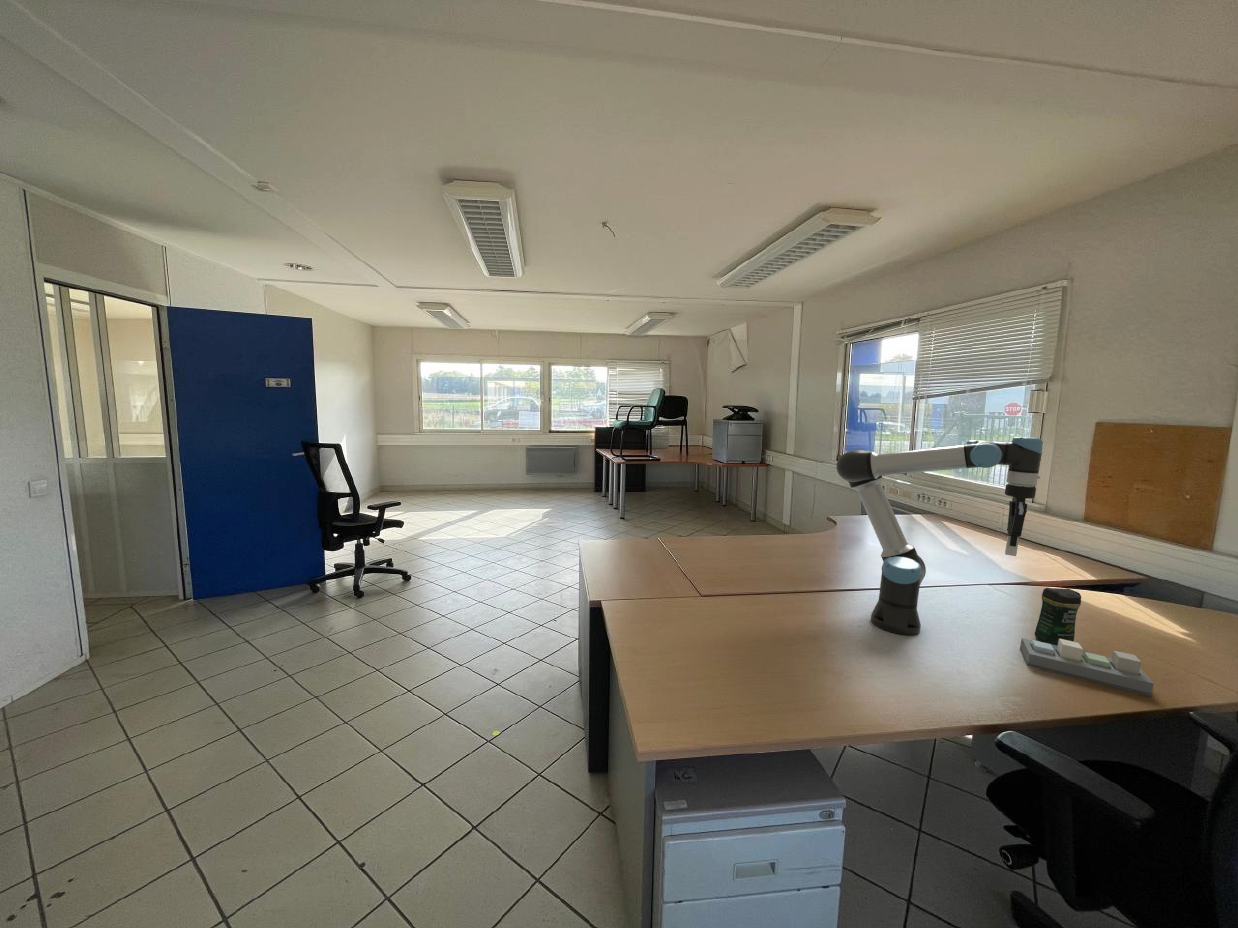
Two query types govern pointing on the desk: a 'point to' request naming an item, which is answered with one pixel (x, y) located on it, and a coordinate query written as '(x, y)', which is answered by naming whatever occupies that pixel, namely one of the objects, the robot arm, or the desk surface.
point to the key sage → (1096, 659)
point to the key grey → (1126, 662)
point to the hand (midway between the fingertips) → (1010, 554)
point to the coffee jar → (1058, 615)
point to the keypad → (1086, 670)
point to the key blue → (1042, 647)
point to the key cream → (1069, 649)
